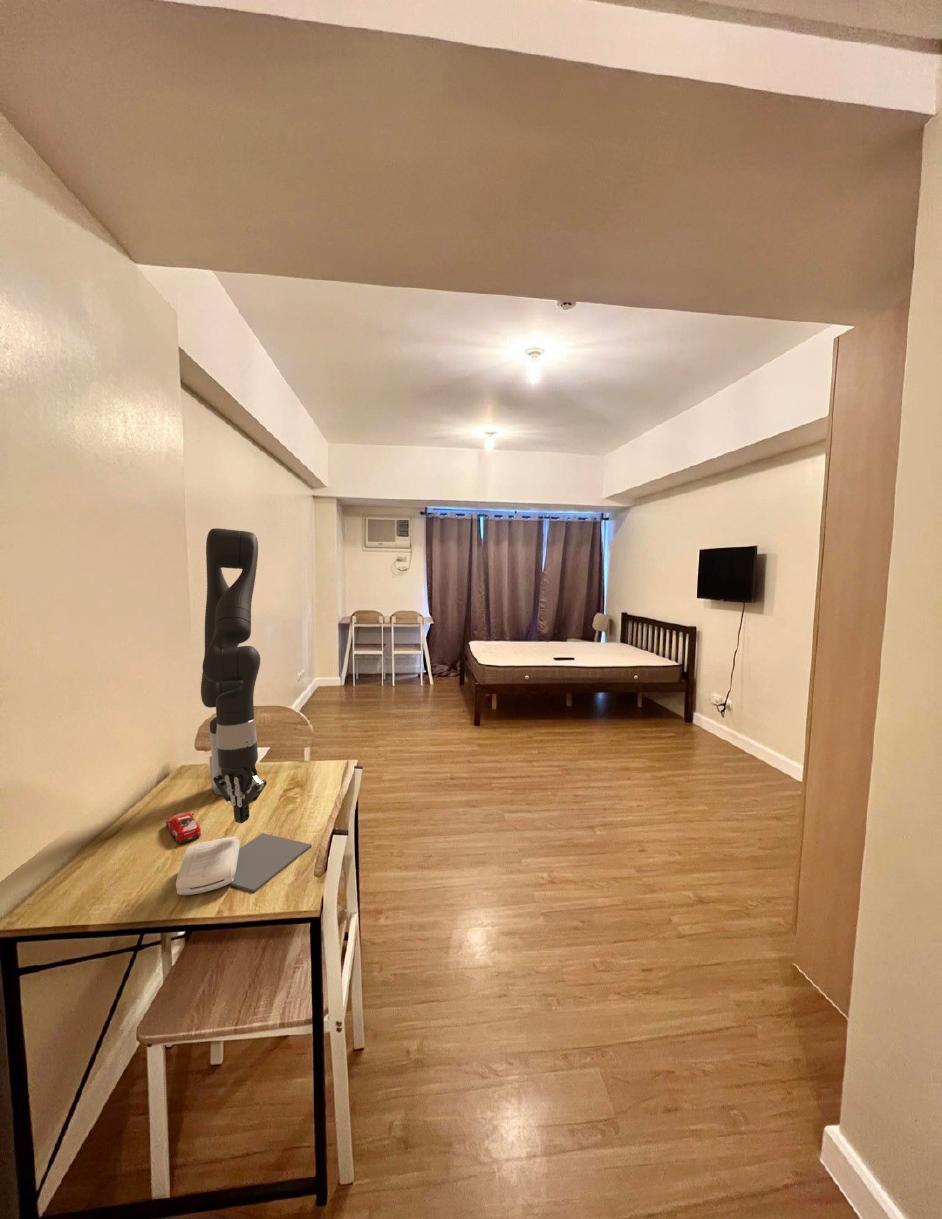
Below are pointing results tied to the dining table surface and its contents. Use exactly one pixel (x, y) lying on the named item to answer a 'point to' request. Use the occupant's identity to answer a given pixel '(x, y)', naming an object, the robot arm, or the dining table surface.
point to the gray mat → (265, 860)
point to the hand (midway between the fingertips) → (242, 821)
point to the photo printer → (208, 866)
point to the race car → (183, 827)
